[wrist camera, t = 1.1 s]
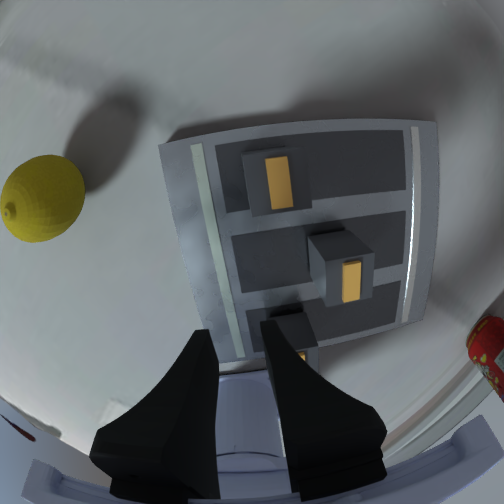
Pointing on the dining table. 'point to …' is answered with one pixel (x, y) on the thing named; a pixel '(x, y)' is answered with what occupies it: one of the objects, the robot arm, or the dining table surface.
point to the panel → (306, 227)
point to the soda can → (488, 350)
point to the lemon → (42, 198)
